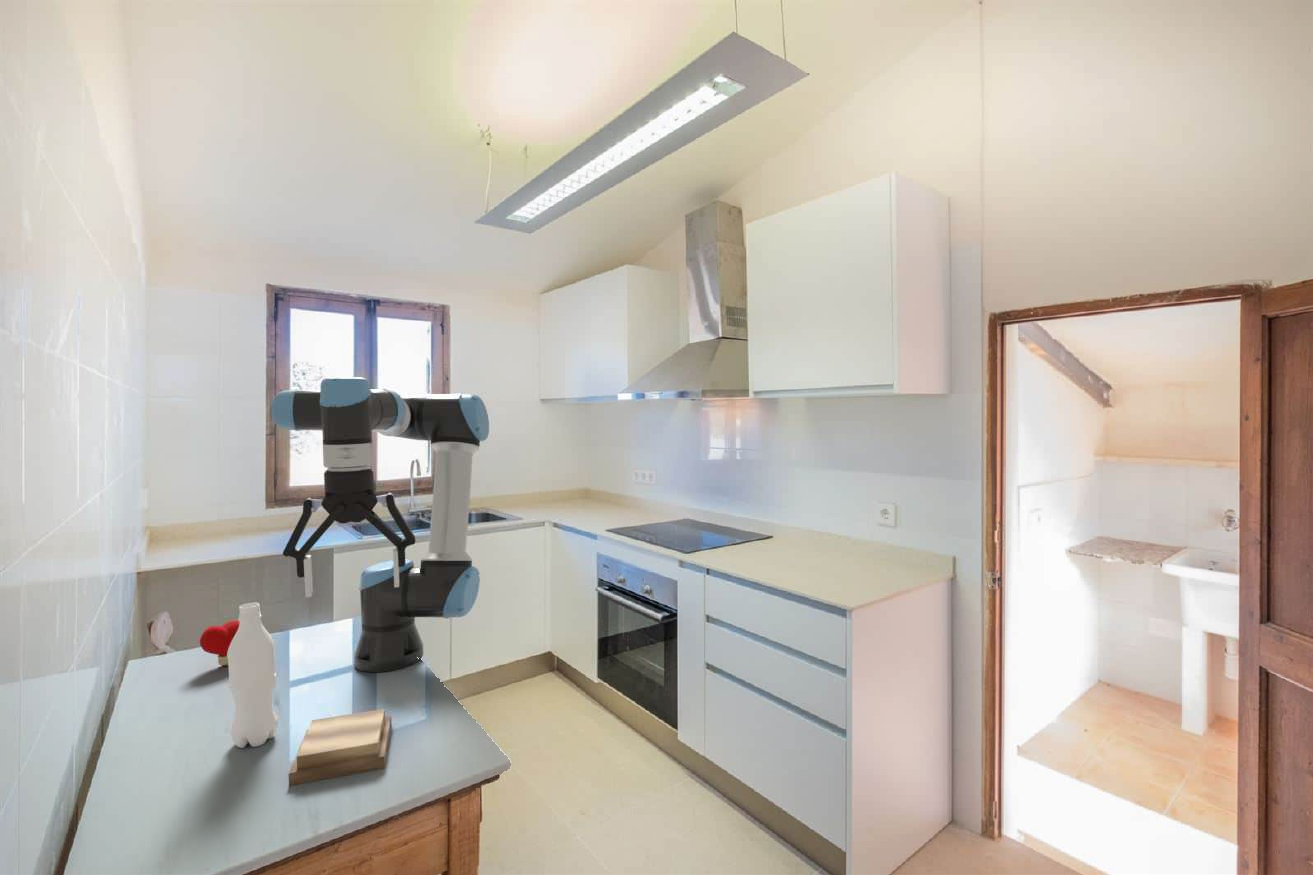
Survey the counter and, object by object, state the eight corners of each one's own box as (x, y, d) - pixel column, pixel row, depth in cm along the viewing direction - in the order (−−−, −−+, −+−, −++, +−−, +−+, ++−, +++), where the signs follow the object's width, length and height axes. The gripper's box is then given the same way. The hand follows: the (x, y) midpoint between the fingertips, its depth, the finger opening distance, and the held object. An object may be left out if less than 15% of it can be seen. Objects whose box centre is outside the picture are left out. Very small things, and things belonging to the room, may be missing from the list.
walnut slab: (307, 739, 110) (307, 729, 110) (391, 725, 114) (391, 715, 114) (288, 785, 97) (288, 773, 96) (384, 767, 101) (384, 756, 101)
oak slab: (312, 730, 109) (312, 720, 109) (385, 719, 113) (384, 708, 113) (297, 768, 98) (296, 756, 98) (378, 754, 102) (377, 742, 102)
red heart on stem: (242, 655, 147) (240, 615, 146) (254, 662, 143) (252, 621, 142) (196, 669, 140) (194, 626, 139) (207, 677, 135) (205, 633, 135)
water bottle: (273, 725, 115) (267, 596, 113) (283, 740, 110) (277, 605, 108) (227, 740, 110) (221, 605, 108) (235, 756, 105) (229, 615, 103)
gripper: (257, 475, 95) (265, 606, 96) (427, 466, 104) (431, 587, 106) (268, 469, 102) (274, 592, 103) (426, 462, 111) (430, 575, 113)
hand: (354, 590), depth 105 cm, fingers open, 13 cm apart
